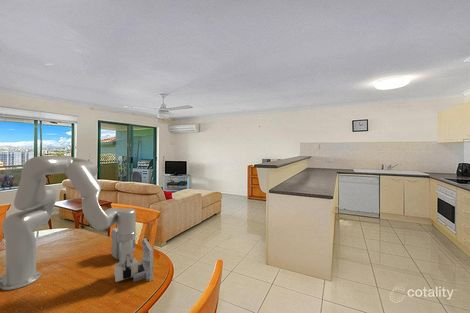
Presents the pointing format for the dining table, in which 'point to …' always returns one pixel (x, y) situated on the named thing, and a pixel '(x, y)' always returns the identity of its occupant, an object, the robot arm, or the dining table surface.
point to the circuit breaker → (117, 244)
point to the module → (120, 268)
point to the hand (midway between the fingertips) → (126, 274)
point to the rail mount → (145, 264)
